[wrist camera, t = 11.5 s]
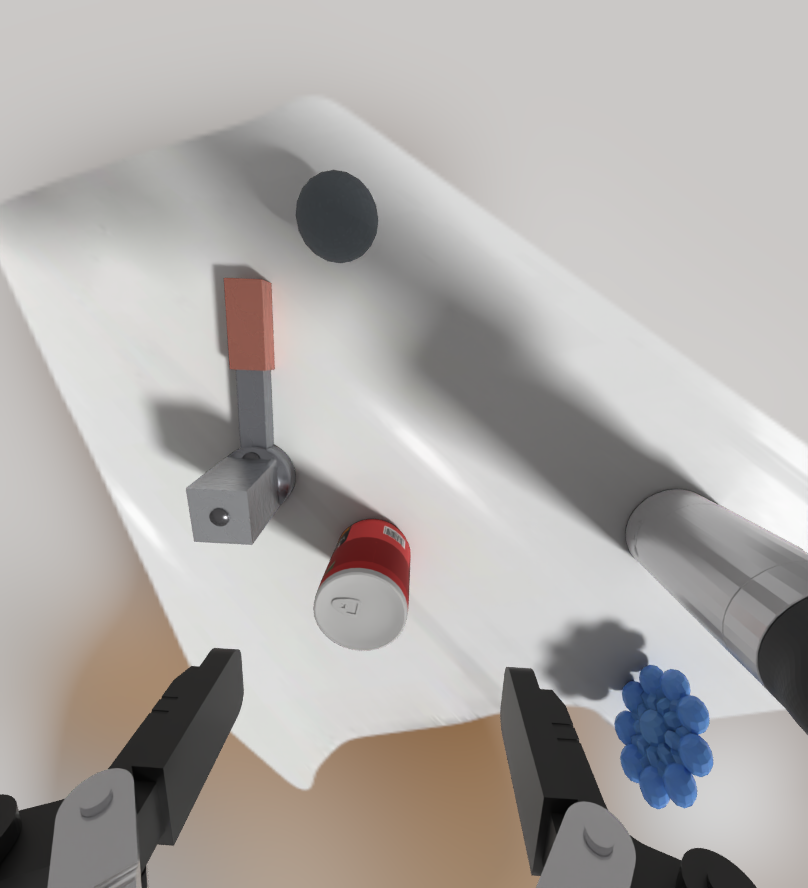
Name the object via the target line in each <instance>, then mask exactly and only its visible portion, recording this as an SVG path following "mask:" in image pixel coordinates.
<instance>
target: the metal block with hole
mask: <svg viewBox="0 0 808 888" xmlns="http://www.w3.org/2000/svg"><path fill="white" fill-rule="evenodd" d="M186 493H187V499H188V505H189V512H190V518H191V524H192V531H193V537H194V542H210V543H229V544H248V545H252V544H253V543H254V542H255V540H256V539H257V537H258V536H259V535H260V533H261V532H262V530H263V529H264V528H265V526H266V525H267V523H268V522H269V520H270V519H271V518H272V516H273V515H274V513H275V512H276V511H277V509H278V508H279V506H280V501H279V488H278V474H277V461H276V460H272V459H251V458H230V457H225V458H224V459H223V460H221V461H220V462H219V463H218V464H216V465H215V466H214V467H212V468H211V469H210V470H209V471H207V472H206V473H205V474H203V475H202V476H201V477H200V478H198V479H197V480H196V481H194V482H193V483H192V484H191V485H189V486H188V487H187V488H186Z"/></svg>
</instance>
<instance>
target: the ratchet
mask: <svg viewBox="0 0 808 888" xmlns="http://www.w3.org/2000/svg"><path fill="white" fill-rule="evenodd" d="M224 289H225V304H226V319H227V335H228V350H229V365H230V369H235V370H236V380H237V396H238V412H239V428H240V444H241V448H240V449H238V450H236V451H235V452H233V453H231V454H230V455H229V456H228V457H230V458H251V459H272V460H276V461H277V474H278V488H279V501H280V505H281V503H282V502H283V501H284V500H285V499H286V498H287V497H288V496H289V494H290V493H291V492H292V490H293V488H294V485H295V480H296V474H295V468H294V465H293V463H292V461H291V459H290V458H289V456H288V455H287V454H286V453H285V452H284V451H283V450H282V449H280V448H279V447H277V446H275V445H274V437H273V413H272V389H271V370H273V369H275V365H274V340H273V314H272V289H271V283H269V282H267V281H265V280H262V279H240V278H224Z"/></svg>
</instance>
